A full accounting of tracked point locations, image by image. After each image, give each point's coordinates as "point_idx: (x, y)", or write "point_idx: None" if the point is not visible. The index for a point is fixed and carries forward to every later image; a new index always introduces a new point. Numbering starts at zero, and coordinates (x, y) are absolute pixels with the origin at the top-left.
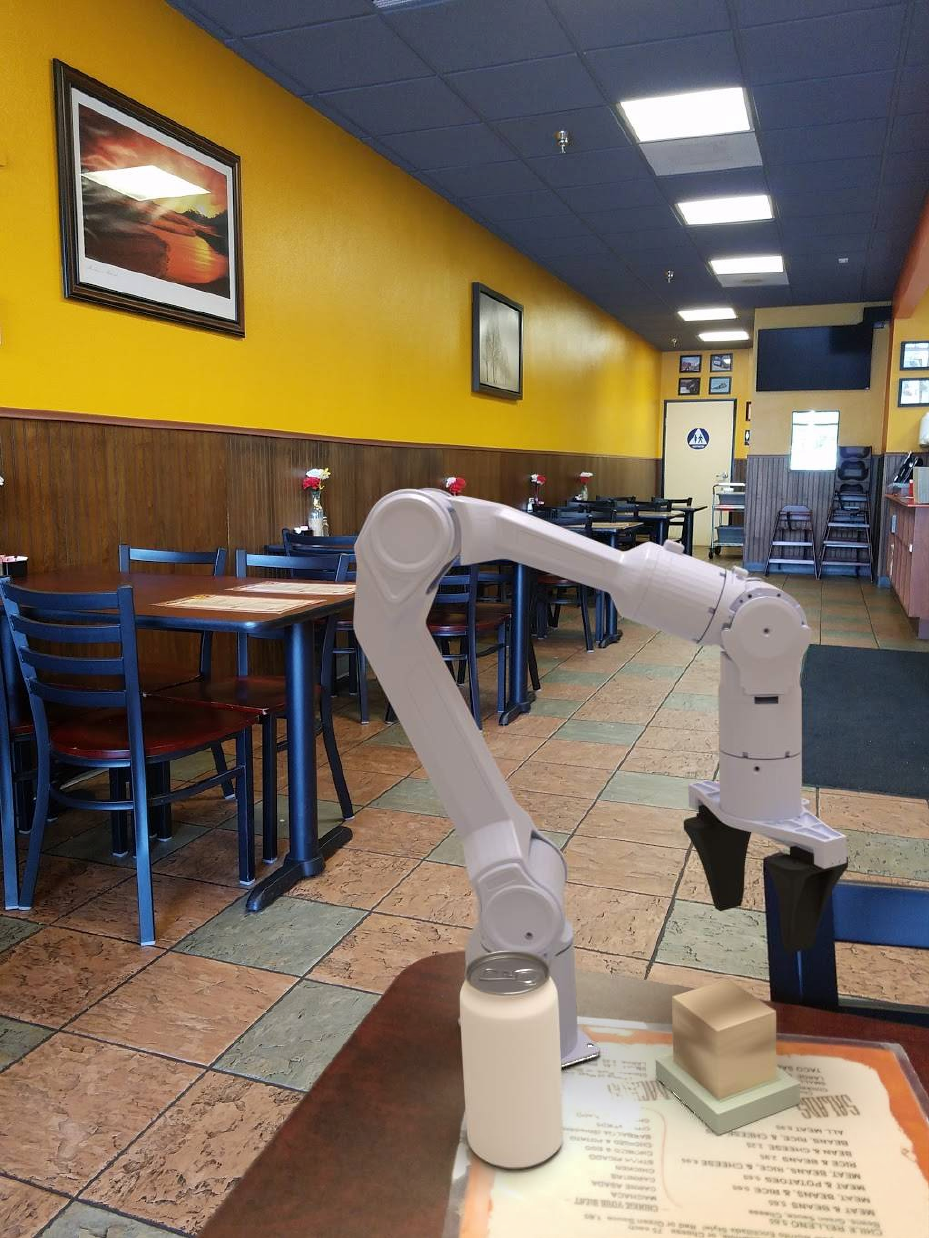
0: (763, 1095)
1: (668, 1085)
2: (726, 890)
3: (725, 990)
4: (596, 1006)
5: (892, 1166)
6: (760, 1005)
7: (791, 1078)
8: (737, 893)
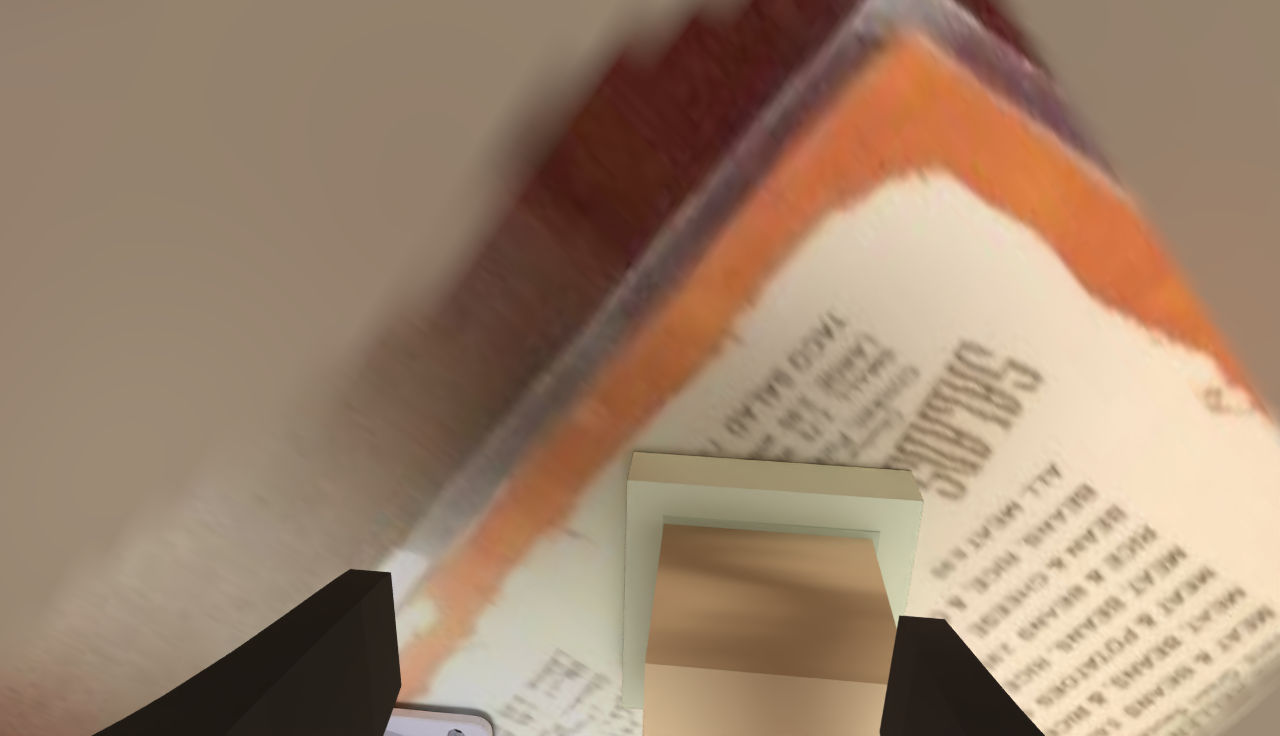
0: (900, 609)
1: None
2: (354, 731)
3: (705, 720)
4: (276, 600)
5: (1221, 467)
6: (850, 698)
7: (893, 502)
8: (361, 639)
